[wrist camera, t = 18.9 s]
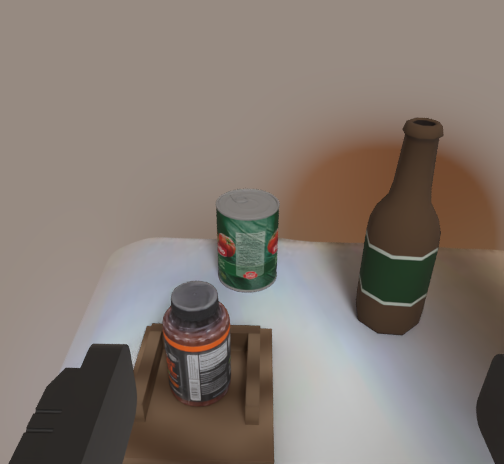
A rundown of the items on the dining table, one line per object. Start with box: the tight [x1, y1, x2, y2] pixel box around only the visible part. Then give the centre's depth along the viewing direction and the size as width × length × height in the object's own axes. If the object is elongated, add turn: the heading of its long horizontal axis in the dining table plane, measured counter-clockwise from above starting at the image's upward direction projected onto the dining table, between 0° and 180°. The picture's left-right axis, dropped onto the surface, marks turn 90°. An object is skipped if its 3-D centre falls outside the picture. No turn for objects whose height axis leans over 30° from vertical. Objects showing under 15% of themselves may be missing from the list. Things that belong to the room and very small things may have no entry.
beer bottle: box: [356, 118, 443, 335], centre depth 51 cm, size 8×8×24 cm
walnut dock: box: [122, 323, 274, 464], centre depth 46 cm, size 16×14×4 cm
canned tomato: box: [216, 189, 279, 292], centre depth 62 cm, size 8×8×11 cm
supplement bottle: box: [163, 281, 231, 407], centre depth 43 cm, size 6×6×11 cm
